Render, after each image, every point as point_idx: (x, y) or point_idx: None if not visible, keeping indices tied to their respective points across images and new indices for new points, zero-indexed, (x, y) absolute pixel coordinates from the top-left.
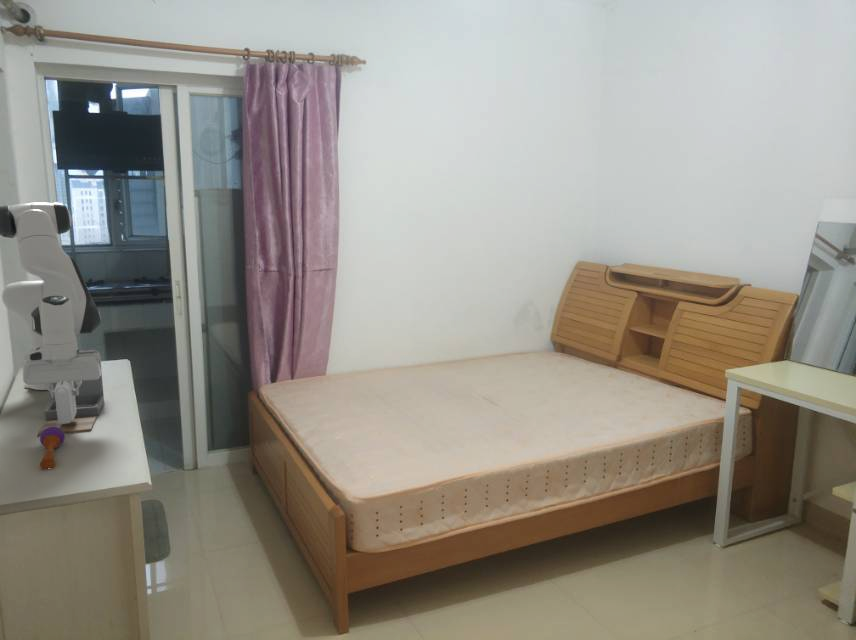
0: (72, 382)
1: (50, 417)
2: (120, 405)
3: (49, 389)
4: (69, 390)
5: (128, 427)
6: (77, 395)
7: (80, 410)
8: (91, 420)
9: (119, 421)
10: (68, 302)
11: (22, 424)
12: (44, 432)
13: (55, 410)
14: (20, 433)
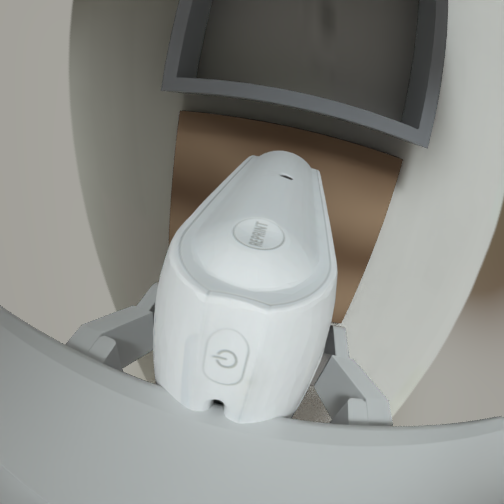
0: (309, 384)
1: (195, 93)
2: (491, 54)
3: (125, 357)
4: None
5: (435, 336)
6: None
7: (341, 118)
8: (368, 224)
9: (446, 268)
10: None
11: (106, 107)
12: None
13: (209, 88)
14: (115, 216)
